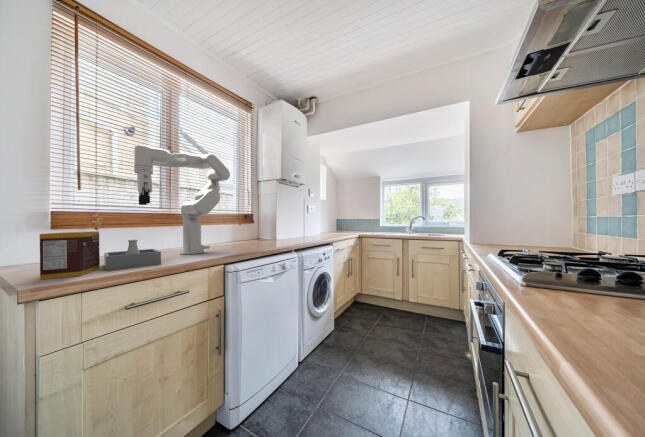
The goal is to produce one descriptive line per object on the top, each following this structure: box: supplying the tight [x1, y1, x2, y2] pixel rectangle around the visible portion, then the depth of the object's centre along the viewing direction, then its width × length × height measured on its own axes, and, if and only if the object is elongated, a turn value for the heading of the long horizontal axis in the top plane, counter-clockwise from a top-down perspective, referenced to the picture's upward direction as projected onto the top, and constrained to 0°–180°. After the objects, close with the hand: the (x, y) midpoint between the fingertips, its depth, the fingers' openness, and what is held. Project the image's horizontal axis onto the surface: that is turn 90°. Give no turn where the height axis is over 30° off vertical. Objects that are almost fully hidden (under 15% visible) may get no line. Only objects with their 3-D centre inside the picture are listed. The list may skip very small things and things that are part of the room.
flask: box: [126, 239, 140, 254], centre depth 104 cm, size 7×7×10 cm
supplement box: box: [39, 230, 101, 280], centre depth 86 cm, size 10×15×16 cm
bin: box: [103, 248, 162, 271], centre depth 103 cm, size 18×18×6 cm
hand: (144, 204), depth 116 cm, fingers open, 9 cm apart
